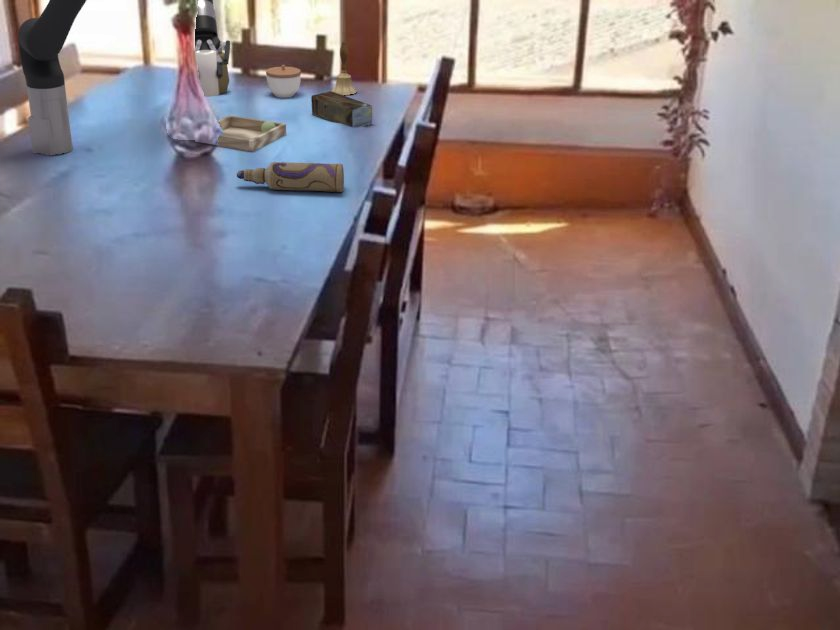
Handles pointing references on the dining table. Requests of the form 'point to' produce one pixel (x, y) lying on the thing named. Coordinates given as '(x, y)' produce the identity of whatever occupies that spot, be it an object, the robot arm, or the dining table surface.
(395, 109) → the dining table surface
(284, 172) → the decorative bottle
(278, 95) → the lidded jar
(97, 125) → the dining table surface
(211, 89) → the white dome-topped cylinder
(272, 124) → the green ball
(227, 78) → the squeeze bottle
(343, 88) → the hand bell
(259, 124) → the tray
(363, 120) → the beverage carton
